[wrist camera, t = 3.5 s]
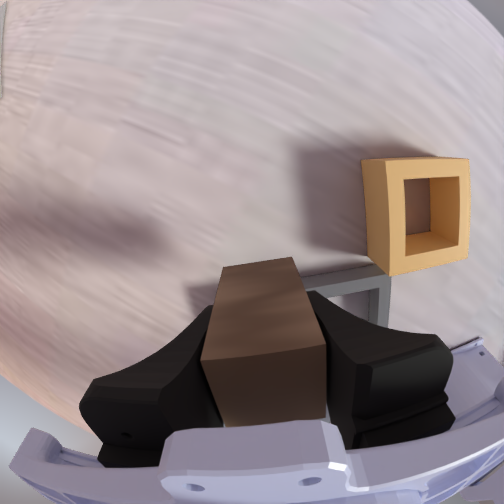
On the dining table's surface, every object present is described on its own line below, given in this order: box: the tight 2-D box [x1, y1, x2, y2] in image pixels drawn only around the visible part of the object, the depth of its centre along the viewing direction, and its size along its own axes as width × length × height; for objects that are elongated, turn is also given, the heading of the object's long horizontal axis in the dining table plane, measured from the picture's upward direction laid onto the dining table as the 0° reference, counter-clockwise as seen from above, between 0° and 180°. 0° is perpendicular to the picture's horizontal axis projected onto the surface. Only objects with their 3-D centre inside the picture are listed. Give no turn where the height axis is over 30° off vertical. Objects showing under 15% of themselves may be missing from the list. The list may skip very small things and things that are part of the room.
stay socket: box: [361, 157, 471, 277], centre depth 17 cm, size 7×7×4 cm
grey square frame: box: [301, 264, 391, 405], centre depth 22 cm, size 13×13×2 cm
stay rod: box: [200, 257, 326, 427], centre depth 11 cm, size 3×3×7 cm
